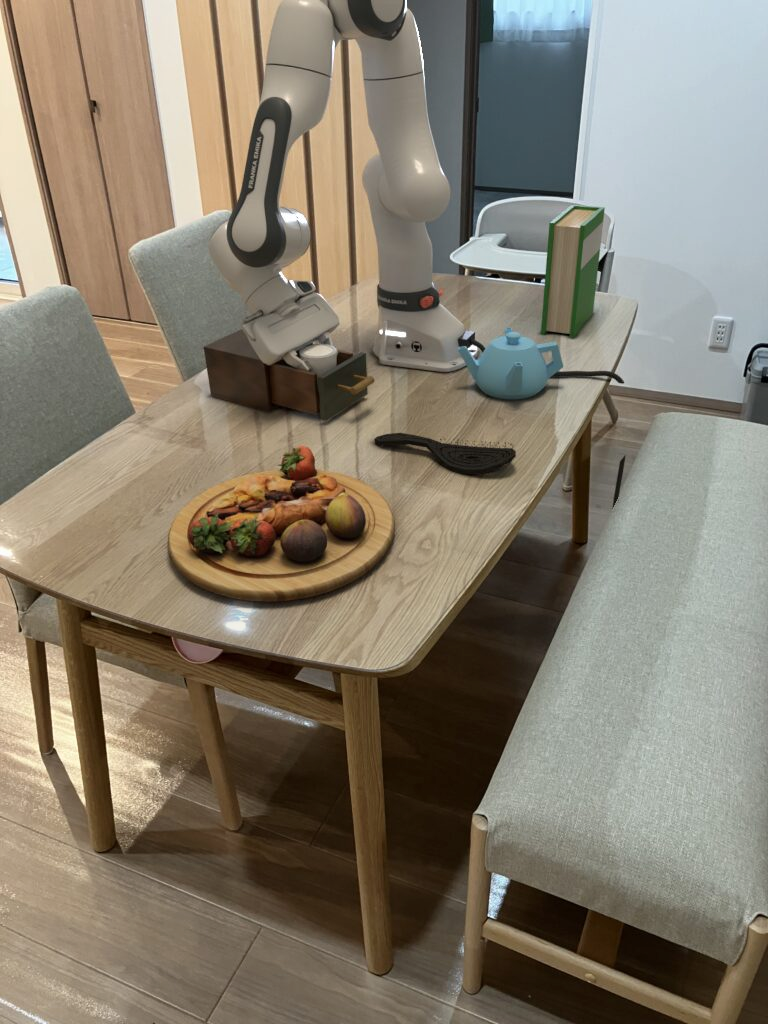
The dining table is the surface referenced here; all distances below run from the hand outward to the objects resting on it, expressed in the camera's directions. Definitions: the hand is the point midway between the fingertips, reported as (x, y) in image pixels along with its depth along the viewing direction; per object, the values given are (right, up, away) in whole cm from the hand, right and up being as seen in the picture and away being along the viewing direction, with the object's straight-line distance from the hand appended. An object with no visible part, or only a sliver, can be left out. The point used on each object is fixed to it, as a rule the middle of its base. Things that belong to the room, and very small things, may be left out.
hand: (321, 364), depth 151 cm
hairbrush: (+21, -18, -14) cm, 31 cm away
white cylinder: (0, -4, +3) cm, 5 cm away
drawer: (+1, -6, +3) cm, 7 cm away
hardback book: (+53, +16, +39) cm, 68 cm away
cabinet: (-12, -3, +11) cm, 17 cm away
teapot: (+36, -3, +9) cm, 37 cm away
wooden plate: (-3, -30, -32) cm, 45 cm away
